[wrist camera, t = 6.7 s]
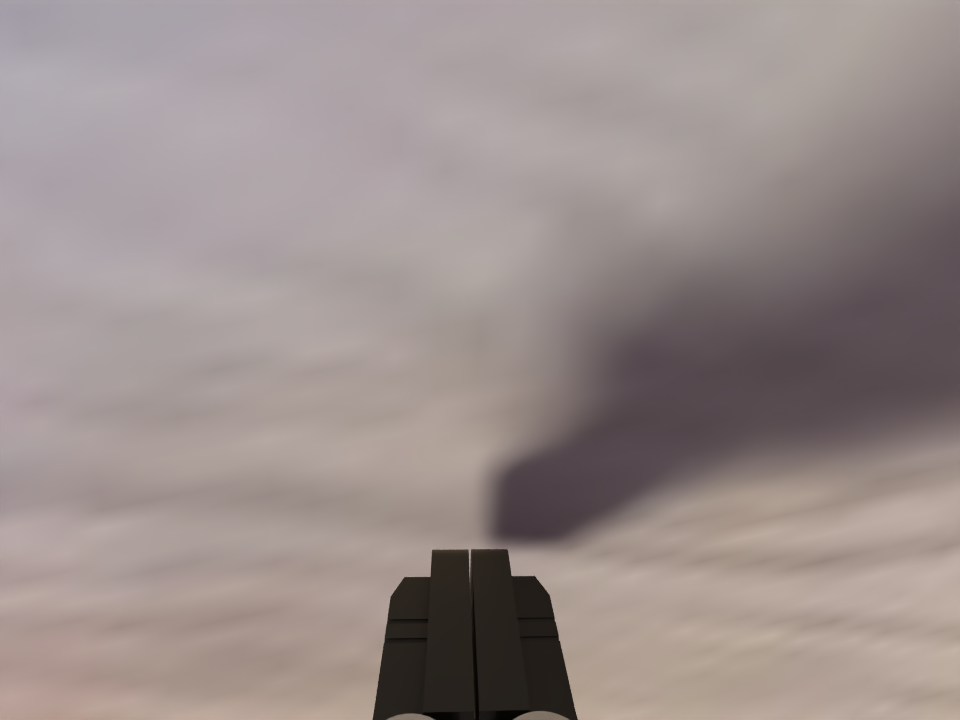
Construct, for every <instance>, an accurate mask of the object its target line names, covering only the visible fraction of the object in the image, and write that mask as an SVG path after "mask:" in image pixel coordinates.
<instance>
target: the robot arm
mask: <svg viewBox="0 0 960 720" xmlns="http://www.w3.org/2000/svg"><path fill="white" fill-rule="evenodd" d="M554 618H555V617H554V613H553V608H552V604H551V599H550V595H549V594H548V592H547V591H546V590H545V589H544V587H543V586H542V585H541V584H540V582H539V581H538V580H537V578H536V577H535V576H511V569H510V562H509V555H508V550H507V549H471V567H470V578H469V552H468V550H432V561H431V577H404V579H403V580H402V582H401V583H400V584H399V586H398V587H397V589H396V590H395V591H394V593H393V594H392V596H391V599H390V606H389V613H388V621H387V626H386V633H385V643H384V647H383V654H382V661H381V667H380V674H379V681H378V688H377V695H376V702H375V709H374V715H373V720H578V719H577V715H576V712H575V708H574V703H573V698H572V694H571V689H570V685H569V680H568V676H567V671H566V667H565V662H564V658H563V653H562V649H561V644H560V641H559V635H558V631H557V626H556V622H555V619H554Z"/></svg>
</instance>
